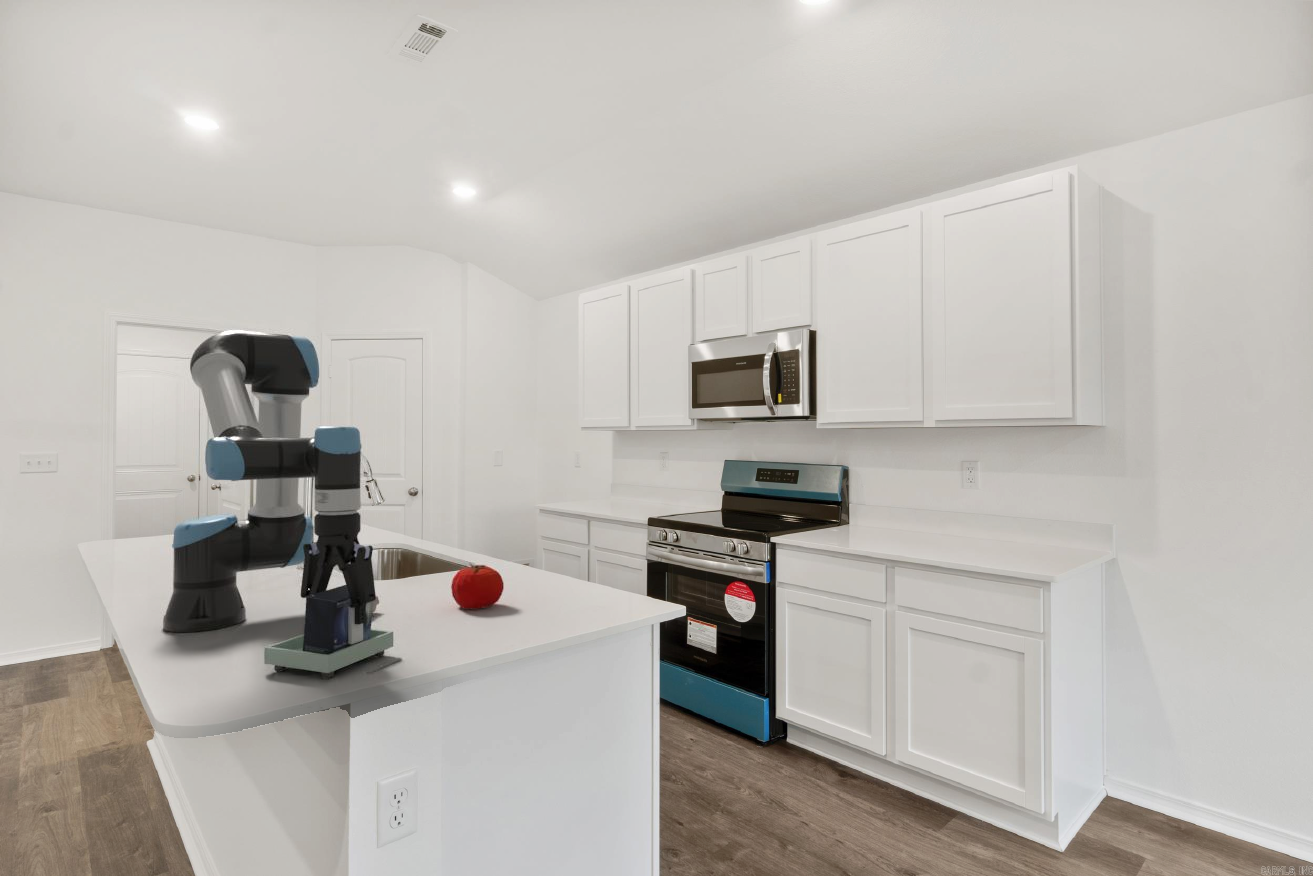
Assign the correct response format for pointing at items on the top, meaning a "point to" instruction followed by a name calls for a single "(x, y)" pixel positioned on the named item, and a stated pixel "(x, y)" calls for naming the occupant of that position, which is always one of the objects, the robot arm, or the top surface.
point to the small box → (330, 621)
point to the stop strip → (384, 665)
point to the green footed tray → (295, 657)
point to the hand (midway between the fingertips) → (337, 639)
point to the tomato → (477, 587)
